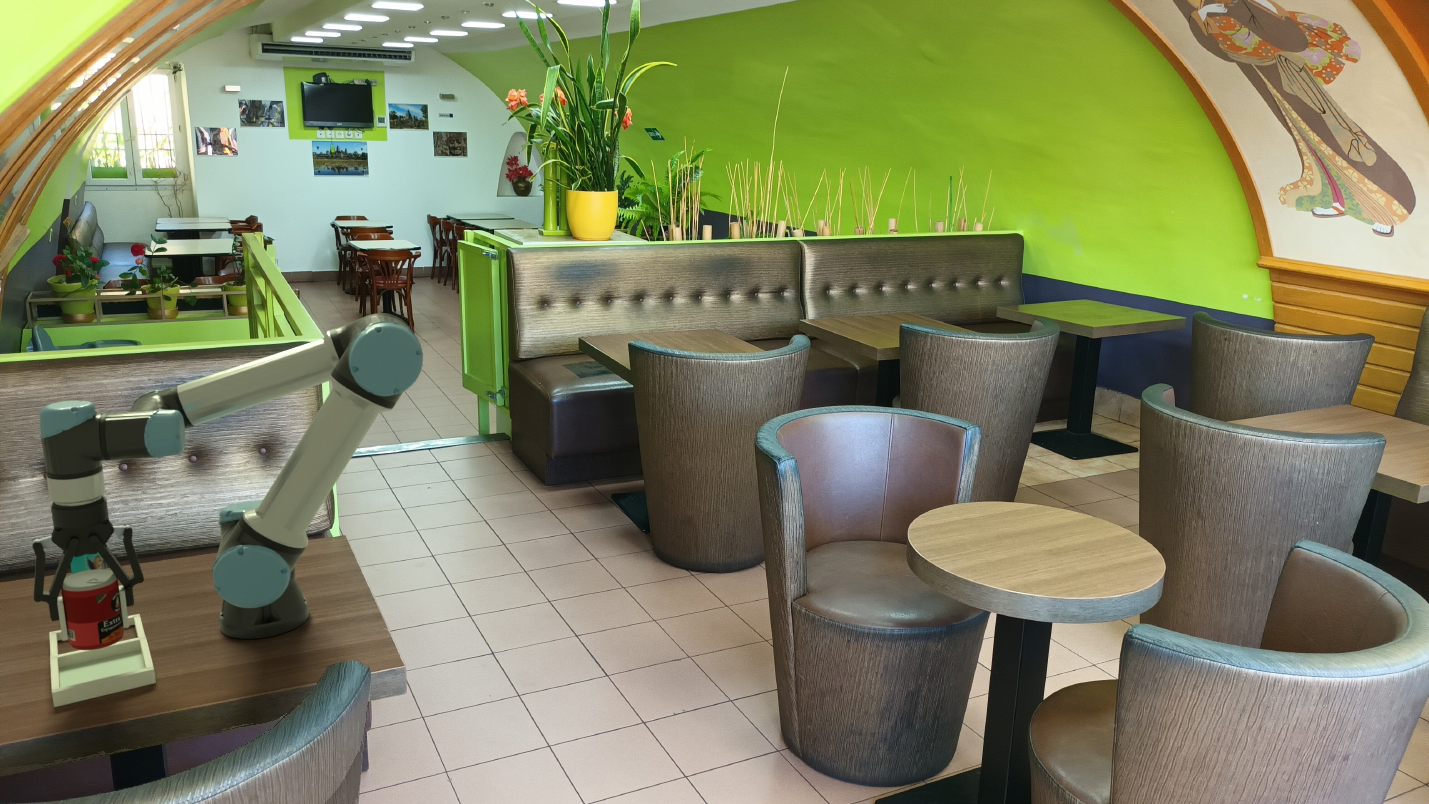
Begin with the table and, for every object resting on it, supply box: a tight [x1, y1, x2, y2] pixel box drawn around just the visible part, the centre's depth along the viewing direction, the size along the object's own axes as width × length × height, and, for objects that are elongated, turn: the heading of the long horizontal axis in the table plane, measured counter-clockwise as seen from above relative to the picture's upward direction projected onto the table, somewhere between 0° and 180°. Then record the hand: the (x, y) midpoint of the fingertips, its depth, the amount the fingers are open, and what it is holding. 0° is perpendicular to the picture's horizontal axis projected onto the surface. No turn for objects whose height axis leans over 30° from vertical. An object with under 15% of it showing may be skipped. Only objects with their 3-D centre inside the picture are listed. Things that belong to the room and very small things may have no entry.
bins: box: [49, 613, 157, 708], centre depth 170 cm, size 27×14×2 cm, turn 34°
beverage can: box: [70, 552, 108, 575], centre depth 191 cm, size 6×6×15 cm
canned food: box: [60, 569, 125, 651], centre depth 162 cm, size 8×8×11 cm
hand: (95, 630), depth 163 cm, fingers closed on canned food, 8 cm apart
